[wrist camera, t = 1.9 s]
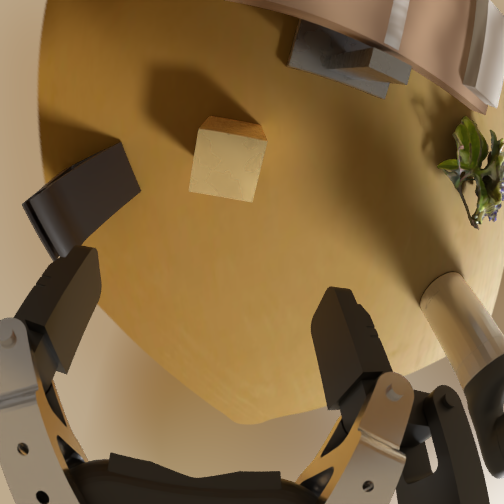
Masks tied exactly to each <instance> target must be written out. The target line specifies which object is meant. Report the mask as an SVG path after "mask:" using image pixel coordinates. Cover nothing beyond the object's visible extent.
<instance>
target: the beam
mask: <svg viewBox="0 0 504 504" xmlns="http://www.w3.org/2000/svg"><path fill="white" fill-rule="evenodd" d="M226 1H231V2H237V3H242V4H247V5H252V6H256V7H261V8H265V9H269V10H273V11H276V12H280V13H284V14H287V15H291V16H294V17H297V18H300V19H303V20H306V21H309V22H312V23H315V24H318V25H321V26H323V27H326V28H329V29H331V30H334V31H336V32H339V33H341V34H344V35H346V36H348V37H351V38H353V39H355V40H358V41H360V42H362V43H364V44H366V45H368V46H370V47H374V48H377V49H379V50H381V51H383V52H385V53H387V54H389V55H391V56H393V57H395V58H397V59H399V60H401V61H403V62H405V63H407V64H409V65H411V66H412V68H411V69H413V70H415V71H416V72H418V73H420V74H421V75H423V76H424V77H426V78H428V79H429V80H431V81H432V82H434V83H435V84H437V85H438V86H440V87H441V88H442V89H444V90H445V91H447V92H448V93H450V94H451V95H452V96H454V97H455V98H456V99H458V100H459V101H460V102H462V103H463V104H464V105H466V106H467V107H468V108H469V109H471V110H473V111H476V112H478V113H481V114H484V115H486V111H487V107H488V105H490V106H492V107H495V108H497V106H498V102H499V98H500V94H501V89H502V85H503V80H504V15H503V14H502V13H501V12H500V11H499V10H498V8H497V7H496V6H495V5H494V4H493V3H492V2H491V1H490V0H226Z"/></svg>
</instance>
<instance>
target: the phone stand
mask: <svg viewBox="0 0 504 504" xmlns="http://www.w3.org/2000/svg"><path fill="white" fill-rule="evenodd" d="M139 192H141V190H140V187H139V185H138V182H137V180H136V178H135V175H134V173H133V171H132V168H131V166H130V163H129V161H128V158H127V156H126V153H125V151H124V148H123V146H122V143H121V142H119V143H117V144H115V145H113V146H111V147H108V148H106V149H104V150H102V151H100V152H98V153H96V154H94V155H92V156H90V157H88V158H86V159H84V160H82V161H80V162H78V163H76V164H74V165H72V166H70V167H69V168H67V169H65V170H63V171H62V172H60V173H59V174H58V175H56V176H55V177H54V178H53V179H52V180H50V181H49V182H48V183H47V184H46V185H45V186H43V187H42V188H41V189H40V190H39V191H38V192H37V193H35V194H34V195H33V196H32V197H30V198H29V199H28V200H26V201H25V202H24V203H23V204H22V206H23V208H24V210H25V212H26V214H27V216H28V218H29V220H30V222H31V223H32V225H33V227H34V229H35V231H36V233H37V235H38V236H39V238H40V240H41V242H42V243H43V245H44V247H45V248H46V250H47V252H48V253H49V255H50V257H51V258H52V260H53V262H54V261H55V260H57V258H58V257H59V256H60V257H66V256H67V254H68V253H69V252H70V250H71V249H72V248H73V247H74V246H75V245H82V243H83V242H84V241H85V240H86V239H87V238H88V237H89V236H90V235H91V234H92V233H93V232H94V231H95V230H96V229H98V228H99V227H100V226H101V225H102V224H103V223H104V222H105V221H106V220H108V219H109V218H110V217H111V216H112V215H113V214H114V213H116V212H117V211H118V210H119V209H120V208H121V207H123V206H124V205H125V204H126V203H127V202H129V201H130V200H131V199H132V198H133V197H135V196H136V195H137V194H138V193H139Z"/></svg>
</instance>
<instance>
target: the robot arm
mask: <svg viewBox="0 0 504 504" xmlns="http://www.w3.org/2000/svg"><path fill="white" fill-rule="evenodd" d="M100 294H101V277H100V269H99V260H98V252H97V250H96V248H92V247H86V246H81V245H75V246H74V247H73V248H72V249H71V250H70V252H69V253H68V254H67V256H66V257H60V258H58V259H57V260H55V261H54V262H53V263H51V264H50V265H49V266H48V268H47V269H46V270H45V272H44V273H43V274H42V277H40V279H39V280H38V281H37V283H36V286H34V287H33V288H32V290H31V291H30V293H29V294H28V296H27V297H26V299H25V300H24V302H23V303H22V305H21V307H20V308H19V310H18V312H17V313H16V315H15V316H14V318H4V319H2V320H0V464H1V467H2V470H3V473H4V476H5V478H6V481H7V484H8V486H9V488H10V491H11V494H12V496H13V499H14V501H15V503H16V504H389V503H390V501H391V498H392V496H393V494H394V491H395V489H396V493H397V500H398V504H490V503H489V497H488V492H487V487H486V483H485V478H484V474H483V470H482V466H481V462H480V458H479V455H478V451H477V448H476V444H475V441H474V438H473V434H472V431H471V428H470V425H469V422H468V419H467V416H466V413H465V411H464V408H463V405H462V403H461V400H460V398H459V396H458V394H457V393H456V392H455V391H454V390H453V389H452V388H451V387H449V386H446V385H441V386H438V387H437V388H436V389H435V390H434V391H433V392H431V393H426V392H421V391H417V390H413V388H412V386H411V384H410V382H409V381H408V380H407V379H406V378H405V377H404V376H402V375H400V374H398V373H395V372H393V371H392V368H391V366H390V363H389V361H388V358H387V355H386V353H385V350H384V348H383V346H382V343H381V341H380V338H378V333H377V331H376V329H374V327H375V326H374V324H373V322H372V319H371V317H370V315H369V314H368V313H367V311H366V310H365V309H364V308H363V307H362V306H361V304H357V302H356V300H355V298H354V295H353V293H352V291H351V290H350V289H346V288H338V287H329V288H327V290H326V292H325V294H324V296H323V298H322V300H321V302H320V304H319V306H318V308H317V310H316V312H315V314H314V316H313V318H312V322H311V334H312V338H313V343H314V347H315V352H316V356H317V360H318V365H319V370H320V374H321V379H322V383H323V388H324V393H325V398H326V402H327V407H328V410H339V409H340V411H341V416H340V417H339V418H338V420H337V421H336V423H335V425H334V427H333V429H332V430H331V432H330V434H329V436H328V437H327V439H326V441H325V443H324V444H323V446H322V448H321V449H320V451H319V452H318V454H317V456H316V457H315V459H314V460H313V461H312V462H311V463H310V465H309V466H307V468H306V469H305V470H304V471H303V472H302V473H301V474H300V476H299V477H298V478H297V480H296V481H295V483H294V482H292V481H288V480H285V479H281V476H280V471H270V472H243V471H242V472H241V471H239V472H234V473H228V474H223V475H216V476H210V477H203V478H193V477H189V476H186V475H183V474H180V473H178V472H175V471H173V470H170V469H168V468H165V467H163V466H160V465H158V464H155V463H153V462H150V461H145V460H140V459H135V458H131V457H126V456H122V455H118V454H115V453H110V458H109V459H102V460H93V461H88V459H87V457H86V455H85V453H84V451H83V449H82V447H81V445H80V443H79V442H78V440H77V439H76V437H75V435H74V434H73V432H72V430H71V427H70V425H69V423H68V420H67V418H66V415H65V412H64V409H63V407H62V404H61V401H60V398H59V396H58V392H57V389H56V386H55V383H54V380H53V377H54V374H55V372H56V371H58V372H61V373H64V374H67V373H68V370H69V367H70V365H71V362H72V360H73V357H74V355H75V352H76V350H77V347H78V345H79V343H80V340H81V338H82V336H83V333H84V331H85V329H86V327H87V324H88V322H89V320H90V318H91V316H92V313H93V311H94V309H95V307H96V305H97V303H98V301H99V298H100ZM420 307H421V310H422V311H423V313H424V315H425V317H426V318H427V320H428V322H429V324H430V326H431V328H432V329H433V331H434V333H435V335H436V337H437V339H438V341H439V342H440V344H441V346H442V348H443V350H444V352H445V354H446V356H447V358H448V360H449V362H450V364H451V366H452V368H453V370H454V372H455V374H456V376H457V378H458V380H459V383H460V385H461V387H462V389H463V391H464V393H465V396H466V399H467V404H468V410H469V413H470V416H471V419H472V422H473V425H474V428H475V431H476V434H477V438H478V442H479V446H480V449H481V453H482V456H483V460H484V462H485V465H486V467H487V469H488V470H489V472H490V473H491V474H492V476H494V477H495V478H504V412H503V404H504V335H503V334H502V332H501V330H500V329H499V327H498V326H497V324H496V323H495V321H494V320H493V318H492V317H491V315H490V314H489V313H488V311H487V310H486V308H485V307H484V305H483V304H482V303H481V301H480V300H479V298H478V297H477V296H476V294H475V293H474V292H473V290H472V289H471V288H470V286H469V285H468V284H467V282H466V281H465V280H464V279H463V277H462V276H461V275H460V274H459V273H456V272H450V273H446V274H444V275H442V276H440V277H439V278H437V279H436V280H435V281H434V282H432V283H431V285H430V286H429V287H428V288H427V289H426V291H425V292H424V294H423V296H422V298H421V302H420ZM431 436H432V440H433V443H434V447H435V451H436V455H437V459H438V467H437V470H436V471H435V472H434V473H433V472H432V470H431V466H430V461H429V457H428V453H427V449H426V445H425V440H427V439H428V438H430V437H431Z"/></svg>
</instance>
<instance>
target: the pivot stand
mask: <svg viewBox="0 0 504 504" xmlns="http://www.w3.org/2000/svg"><path fill="white" fill-rule="evenodd" d="M286 67H290V68H294V69H298V70H301V71H305V72H308V73H311V74H315V75H318V76H321V77H324V78H327V79H330V80H333V81H336V82H339V83H342V84H345V85H347V86H350V87H353V88H355V89H358V90H360V91H363V92H365V93H368V94H370V95H373V96H375V97H378V98H381V99H385V97H386V94H387V90H388V87H389V83H396V84H404V85H407V83H408V79H409V76H410V72H411V68H412V66H411V65H409V64H407V63H405V62H403V61H401V60H399V59H397V58H395V57H393V56H391V55H389V54H387V53H385V52H383V51H381V50H379V49H377V48H374V47H370V46H368V45H366V44H364V43H362V42H360V41H358V40H355V39H353V38H351V37H348V36H346V35H344V34H341V33H339V32H336V31H334V30H331V29H329V28H326V27H323V26H321V25H318V24H315V23H312V22H309V21H306V20H303V19H300V18H299V21H298V25H297V29H296V32H295V36H294V40H293V44H292V47H291V51H290V55H289V59H288V62H287V66H286Z"/></svg>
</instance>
